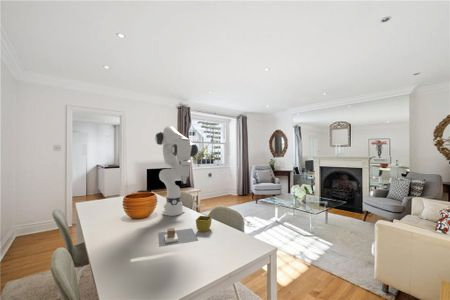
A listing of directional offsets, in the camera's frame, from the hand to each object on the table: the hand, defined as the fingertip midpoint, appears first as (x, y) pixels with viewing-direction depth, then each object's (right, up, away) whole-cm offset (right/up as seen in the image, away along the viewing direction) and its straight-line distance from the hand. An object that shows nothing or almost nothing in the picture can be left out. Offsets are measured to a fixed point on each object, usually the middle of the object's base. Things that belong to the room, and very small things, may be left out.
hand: (183, 182), depth 133 cm
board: (-1, -33, -11) cm, 35 cm away
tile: (-6, -31, -12) cm, 33 cm away
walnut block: (-4, -30, -15) cm, 34 cm away
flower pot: (+14, -33, -1) cm, 36 cm away
